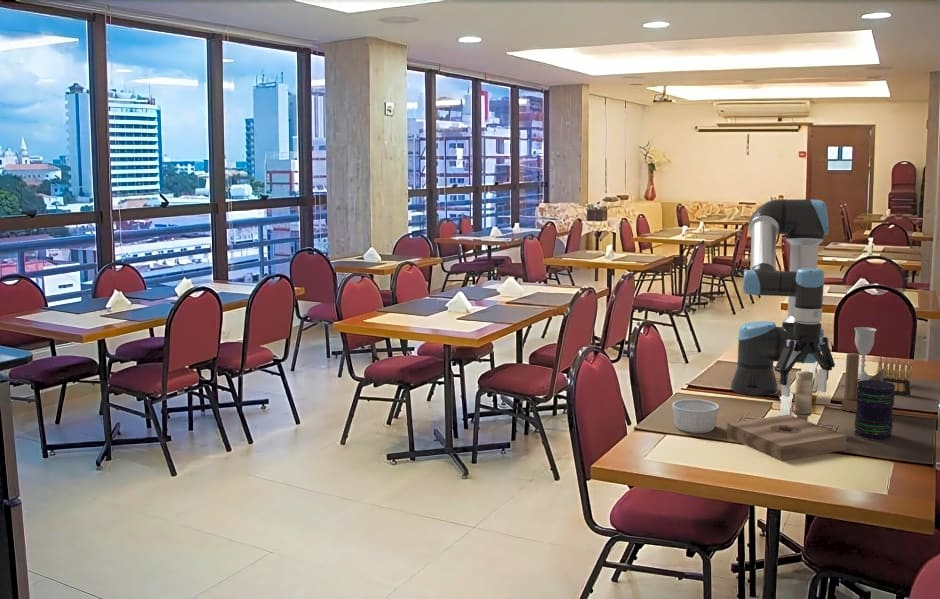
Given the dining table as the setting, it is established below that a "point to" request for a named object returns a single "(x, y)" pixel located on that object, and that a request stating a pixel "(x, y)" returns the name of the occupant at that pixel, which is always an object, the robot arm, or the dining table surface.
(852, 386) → the wooden peg block
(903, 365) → the ammunition clip
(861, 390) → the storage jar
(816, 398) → the dining table surface
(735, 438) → the walnut board
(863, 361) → the chalice
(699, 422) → the ramekin
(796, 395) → the beech leg
